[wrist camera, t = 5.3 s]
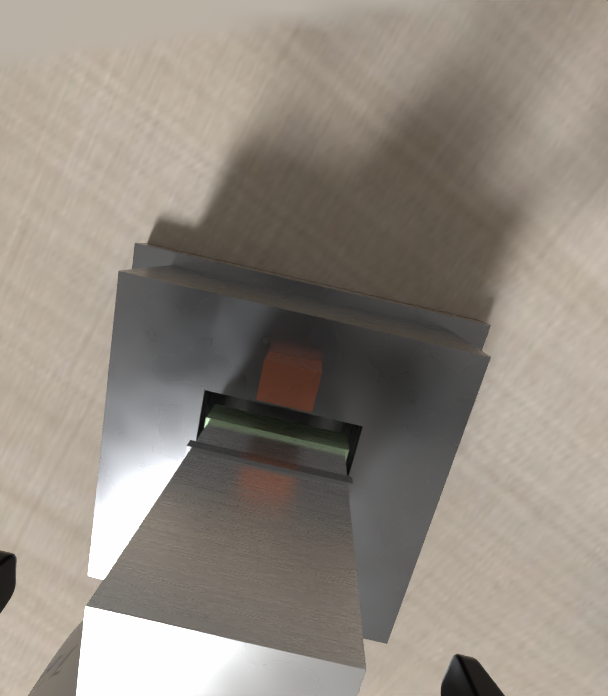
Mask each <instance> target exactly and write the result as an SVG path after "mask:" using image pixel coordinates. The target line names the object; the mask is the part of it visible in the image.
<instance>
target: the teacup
mask: <svg viewBox="0 0 608 696" xmlns="http://www.w3.org/2000/svg"><path fill="white" fill-rule="evenodd" d="M83 627H84V620H83V621H82V622H81V623H80V624H79V625H78V626H77V627H76V629H75V630H74V631H73V632H72V633H71V634H70V636H69V637H68V638H67V640H66V641H65V642H64V644H63V645H62V646H61V648H60V649H59V650H58V652H57V653H56V655H55V656H54V657H53V659H52V660H51V662H50V663H49V665H48V666H47V668H46V669H45V671H44V672H43V674H42V675H41V677H40V678H39V680H38V681H37V683H36V684H35V686H34V687H33V689H32V691H31V692H30V694H29V695H28V696H77V686H78V676H79V666H80V656H81V647H82V637H83Z"/></svg>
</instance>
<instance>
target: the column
mask: <svg viewBox="0 0 608 696" xmlns="http://www.w3.org/2000/svg"><path fill="white" fill-rule="evenodd" d="M348 452H349V446H348V438H347V434H343V433H339V432H335V431H330V430H326V429H322V428H317V427H313V426H309V425H304V424H300V423H296V422H291V421H287V420H282V419H278V418H274V417H269V416H265V415H261V414H256V413H252V412H248V411H243V410H239V409H235V408H230V407H226V406H222V405H217V404H215V405H214V407H213V408H212V410H211V411H210V413H209V414H208V416H207V417H206V421H205V427H204V430H203V431H202V433H201V434H200V436H199V437H198V439H197V440H196V441H193V440H190V441H189V443H188V444H187V446H186V451H185V457H184V460H183V461H182V463H181V464H180V466H179V467H178V469H177V470H176V472H175V473H174V475H173V476H172V478H171V479H170V481H169V482H168V484H167V485H166V487H165V488H164V490H163V491H162V493H161V494H160V496H159V497H158V499H157V500H156V502H155V503H154V505H153V506H152V508H151V509H150V511H149V512H148V514H147V515H146V517H145V518H144V520H143V521H142V523H141V524H140V526H139V527H138V529H137V530H136V532H135V533H134V535H133V536H132V538H131V539H130V541H129V542H128V544H127V545H126V547H125V548H124V550H123V551H122V553H121V554H120V556H119V557H118V559H117V560H116V562H115V563H114V565H113V566H112V568H111V569H110V571H109V572H108V574H107V575H106V577H105V578H104V580H103V581H102V583H101V584H100V586H99V587H98V589H97V590H96V592H95V593H94V595H93V596H92V598H91V599H90V601H89V602H88V604H87V605H86V607H85V617H84V627H83V637H82V647H81V656H80V666H79V676H78V686H77V696H357V694H358V692H359V689H360V686H361V683H362V680H363V677H364V675H365V672H366V663H365V653H364V643H363V633H362V623H361V612H360V602H359V592H358V582H357V572H356V562H355V552H354V541H353V531H352V521H351V511H350V501H349V496H350V493H351V489H352V486H353V479H352V477H350V476H347V470H346V459H347V456H348Z"/></svg>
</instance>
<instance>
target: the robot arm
mask: <svg viewBox="0 0 608 696" xmlns="http://www.w3.org/2000/svg"><path fill="white" fill-rule="evenodd" d="M16 563H17V559H16V556H15V554H13V553H9V552H5V551H0V613H1V612H2V610H3V609H4V607H5V606H6V604H7V603H8V601H9V600H10V598H11V596H12V594H13V592H14V589H15V585H16ZM441 696H505V695H504V694H503V693H502V691H501V690H500V689H499V687H498V686H497V685H496V683H495V682H494V681H493V680H492V678H491V677H490V676H489V674H488V673H487V672H486V671H485V669H484V668H483V667H482V665H481V664H480V663H479V662H478V661H477V660H476V659H475V658H473V657H469V656H464V655H460V654H456V655H454V656H453V657H452V659H451V662H450V664H449V667H448V669H447V671H446V674H445V676H444V678H443V681H442V685H441Z"/></svg>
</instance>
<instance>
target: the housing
mask: <svg viewBox="0 0 608 696" xmlns="http://www.w3.org/2000/svg"><path fill="white" fill-rule="evenodd" d="M489 328H490V325H488V324H486V323H484V322H482V321H478V320H474V319H470V318H466V317H461V316H457V315H453V314H448V313H444V312H440V311H435V310H431V309H427V308H422V307H418V306H414V305H410V304H405V303H401V302H397V301H392V300H388V299H384V298H379V297H375V296H371V295H366V294H362V293H358V292H354V291H349V290H345V289H341V288H336V287H332V286H328V285H323V284H319V283H315V282H310V281H306V280H302V279H298V278H293V277H289V276H285V275H280V274H276V273H272V272H267V271H263V270H259V269H254V268H250V267H246V266H242V265H237V264H233V263H229V262H224V261H220V260H216V259H211V258H207V257H203V256H198V255H194V254H190V253H186V252H181V251H177V250H173V249H168V248H164V247H160V246H155V245H151V244H147V243H135V246H134V256H133V265H132V269H131V270H122V271H119V274H118V284H117V294H116V303H115V313H114V323H113V333H112V343H111V353H110V363H109V372H108V382H107V392H106V402H105V412H104V422H103V432H102V441H101V451H100V461H99V471H98V481H97V491H96V501H95V510H94V520H93V530H92V540H91V550H90V560H89V570H88V576H91V577H95V578H100V579H104V578H105V577H106V575H107V574H108V572H109V571H110V569H111V568H112V566H113V565H114V563H115V562H116V560H117V559H118V557H119V556H120V554H121V553H122V551H123V550H124V548H125V547H126V545H127V544H128V542H129V541H130V539H131V538H132V536H133V535H134V533H135V532H136V530H137V529H138V527H139V526H140V524H141V523H142V521H143V520H144V518H145V517H146V515H147V514H148V512H149V511H150V509H151V508H152V506H153V505H154V503H155V502H156V500H157V499H158V497H159V496H160V494H161V493H162V491H163V490H164V488H165V487H166V485H167V484H168V482H169V481H170V479H171V478H172V476H173V475H174V473H175V472H176V470H177V469H178V467H179V466H180V464H181V463H182V461H183V460H184V457H185V451H186V446H187V444H188V443H189V441H190V440H193V441H196V440H197V439H198V437H199V436H200V434H201V433H202V431H203V430H204V427H205V421H206V417H207V416H208V414H209V413H210V411H211V410H212V408H213V407H214V405H215V404H217V405H222V406H226V407H230V408H235V409H239V410H243V411H248V412H252V413H256V414H261V415H265V416H269V417H274V418H278V419H282V420H287V421H291V422H296V423H300V424H304V425H309V426H313V427H317V428H322V429H326V430H330V431H335V432H339V433H343V434H347V438H348V446H349V452H348V456H347V459H346V470H347V476H350V477H352V479H353V486H352V489H351V493H350V496H349V501H350V511H351V521H352V531H353V541H354V552H355V562H356V572H357V582H358V592H359V602H360V612H361V623H362V633H363V638H364V639H369V640H373V641H378V642H382V643H386V644H387V642H388V639H389V637H390V634H391V631H392V628H393V626H394V623H395V620H396V617H397V615H398V612H399V609H400V606H401V604H402V601H403V598H404V595H405V593H406V590H407V587H408V584H409V581H410V579H411V576H412V573H413V570H414V568H415V565H416V562H417V559H418V557H419V554H420V551H421V548H422V546H423V543H424V540H425V537H426V535H427V532H428V529H429V526H430V523H431V521H432V518H433V515H434V512H435V510H436V507H437V504H438V501H439V499H440V496H441V493H442V490H443V488H444V485H445V482H446V479H447V477H448V474H449V471H450V468H451V465H452V463H453V460H454V457H455V454H456V452H457V449H458V446H459V443H460V441H461V438H462V435H463V432H464V430H465V427H466V424H467V421H468V419H469V416H470V413H471V410H472V407H473V405H474V402H475V399H476V396H477V394H478V391H479V388H480V385H481V383H482V380H483V377H484V374H485V372H486V369H487V366H488V363H489V361H490V358H491V357H490V356H488V355H487V354H485V353H484V352H482V348H483V345H484V342H485V340H486V337H487V334H488V331H489Z"/></svg>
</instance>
